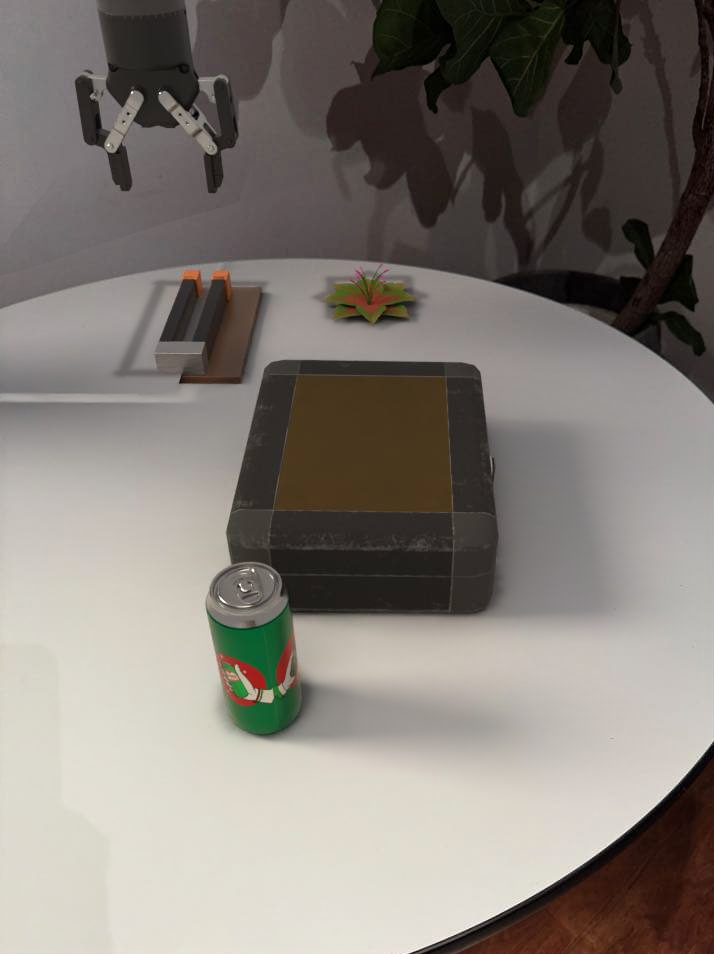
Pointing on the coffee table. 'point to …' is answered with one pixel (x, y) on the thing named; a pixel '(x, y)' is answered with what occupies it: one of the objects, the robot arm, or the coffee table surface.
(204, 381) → the board
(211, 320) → the tongs
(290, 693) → the soda can
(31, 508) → the coffee table surface
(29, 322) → the coffee table surface
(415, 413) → the cash box
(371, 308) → the lily flower
